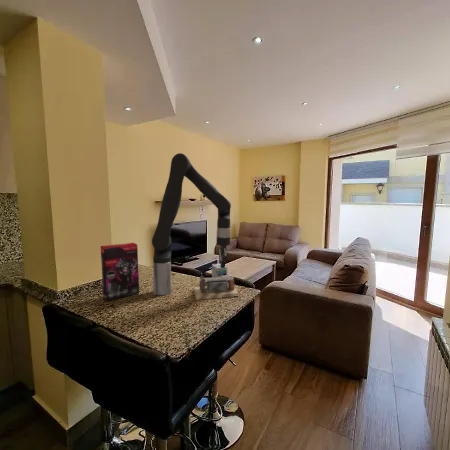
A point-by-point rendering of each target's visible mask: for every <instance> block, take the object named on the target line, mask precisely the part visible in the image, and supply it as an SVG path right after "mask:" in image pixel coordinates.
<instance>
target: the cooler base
mask: <svg viewBox="0 0 450 450" xmlns="http://www.w3.org/2000/svg"><path fill="white" fill-rule="evenodd" d="M200 278H205V277H204V275H202V276H199V279H200ZM193 292H194V295H195V296H194V297H195V299H196V300H197V301H199V300H211V299H213V298H214V299H223V298H222V297H227V298H235V297H234V296H238V297H239V292H238V291H237V289H236V288H235V280H227V281H226V280H223V281H205V279H201V281H200V280H199V286H193Z"/></svg>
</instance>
